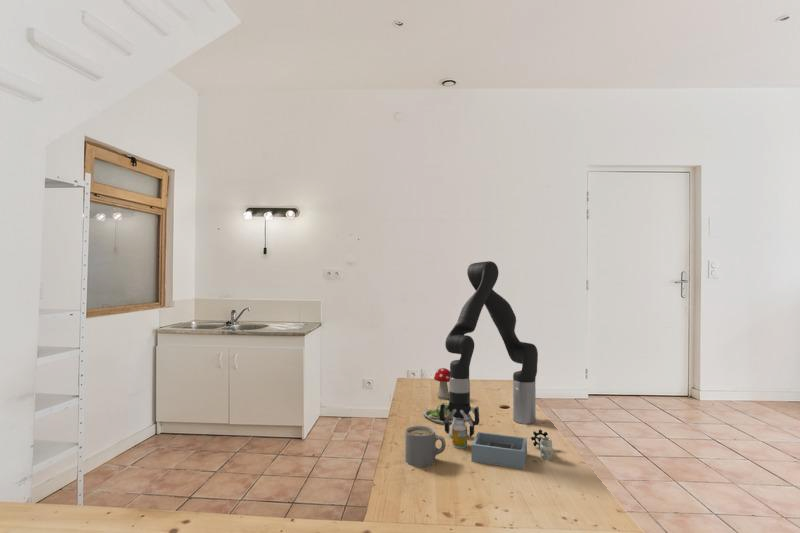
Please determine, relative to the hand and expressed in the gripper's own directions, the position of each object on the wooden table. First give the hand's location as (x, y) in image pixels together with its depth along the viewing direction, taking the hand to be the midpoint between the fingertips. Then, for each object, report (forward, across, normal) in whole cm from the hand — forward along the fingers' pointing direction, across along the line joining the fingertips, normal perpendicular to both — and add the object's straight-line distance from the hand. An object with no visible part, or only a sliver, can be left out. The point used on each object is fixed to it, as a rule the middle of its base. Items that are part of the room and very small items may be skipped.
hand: (459, 434), depth 162 cm
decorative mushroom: (+4, +21, -59) cm, 63 cm away
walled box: (+4, -15, +5) cm, 17 cm away
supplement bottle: (+4, 0, 0) cm, 4 cm away
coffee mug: (+4, +8, +17) cm, 19 cm away
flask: (+4, +3, -10) cm, 11 cm away
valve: (+4, -29, -3) cm, 30 cm away
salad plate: (+5, +13, -30) cm, 33 cm away
